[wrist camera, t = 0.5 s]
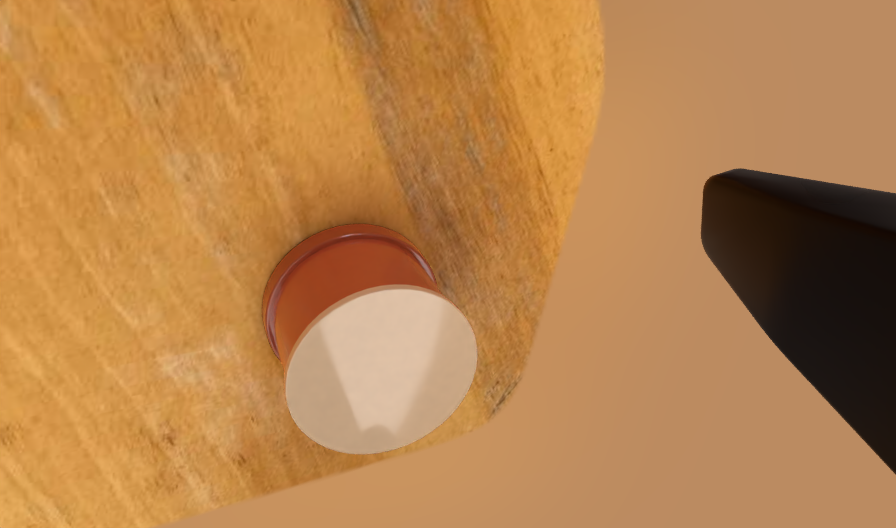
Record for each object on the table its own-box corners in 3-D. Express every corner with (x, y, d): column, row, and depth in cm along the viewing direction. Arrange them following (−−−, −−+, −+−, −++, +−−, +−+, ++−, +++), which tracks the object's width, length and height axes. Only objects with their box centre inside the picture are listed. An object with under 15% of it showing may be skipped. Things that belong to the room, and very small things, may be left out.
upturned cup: (439, 346, 31) (485, 420, 27) (281, 393, 29) (306, 478, 25) (421, 204, 28) (469, 265, 24) (243, 248, 26) (265, 322, 22)
